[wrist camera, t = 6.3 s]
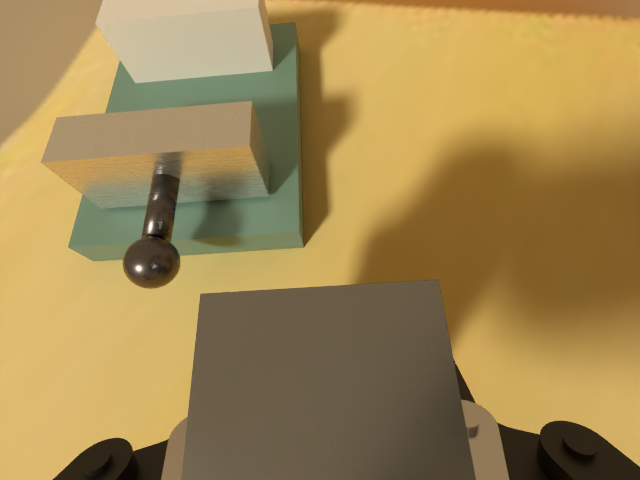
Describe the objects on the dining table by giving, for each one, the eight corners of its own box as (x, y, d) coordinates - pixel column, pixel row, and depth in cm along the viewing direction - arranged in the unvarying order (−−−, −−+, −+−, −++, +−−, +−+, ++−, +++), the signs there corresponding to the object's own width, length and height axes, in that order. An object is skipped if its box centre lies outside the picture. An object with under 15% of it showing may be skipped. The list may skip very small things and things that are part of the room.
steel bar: (295, 362, 17) (200, 294, 6) (378, 357, 17) (438, 280, 6) (296, 459, 15) (167, 610, 4) (389, 455, 15) (499, 604, 4)
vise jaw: (266, 293, 16) (243, 263, 12) (76, 305, 16) (-1, 278, 13) (269, 157, 19) (251, 100, 16) (110, 169, 20) (56, 117, 16)
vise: (303, 247, 19) (286, 188, 14) (93, 261, 20) (-3, 209, 14) (298, 48, 26) (286, -45, 21) (141, 63, 27) (87, -24, 21)
